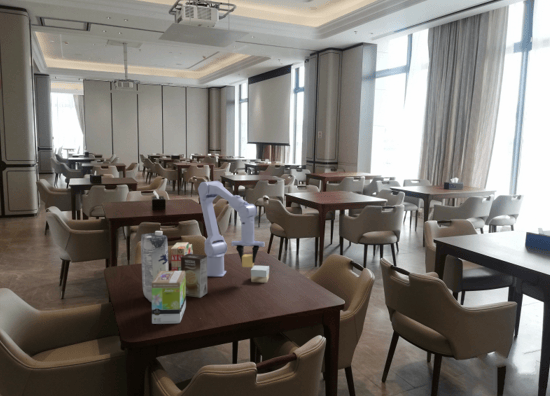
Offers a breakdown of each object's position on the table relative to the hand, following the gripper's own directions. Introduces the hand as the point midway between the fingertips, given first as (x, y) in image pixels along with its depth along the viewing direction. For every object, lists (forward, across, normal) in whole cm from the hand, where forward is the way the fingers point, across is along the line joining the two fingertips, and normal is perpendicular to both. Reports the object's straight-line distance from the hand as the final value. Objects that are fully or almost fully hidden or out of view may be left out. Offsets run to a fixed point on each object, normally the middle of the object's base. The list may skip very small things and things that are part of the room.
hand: (248, 262), depth 192 cm
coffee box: (+10, -19, -17) cm, 27 cm away
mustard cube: (+2, 0, 0) cm, 2 cm away
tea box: (+10, -21, -40) cm, 46 cm away
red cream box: (+10, -38, +22) cm, 45 cm away
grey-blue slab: (+7, +4, +5) cm, 10 cm away
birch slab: (+10, +4, +5) cm, 12 cm away
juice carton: (+10, -33, -23) cm, 42 cm away
